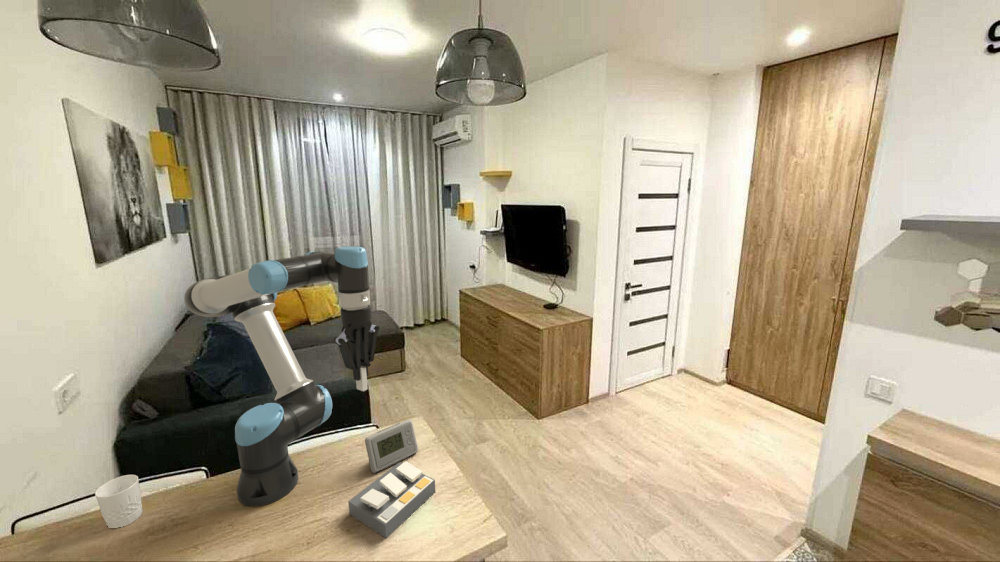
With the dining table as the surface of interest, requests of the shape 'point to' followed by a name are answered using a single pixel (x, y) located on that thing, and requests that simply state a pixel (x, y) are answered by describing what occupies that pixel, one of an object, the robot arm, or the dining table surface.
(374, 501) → the switch
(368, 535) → the dining table surface
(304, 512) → the dining table surface
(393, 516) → the panel
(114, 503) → the white cup
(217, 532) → the dining table surface
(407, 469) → the switch
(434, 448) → the dining table surface
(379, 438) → the digital clock
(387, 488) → the switch
